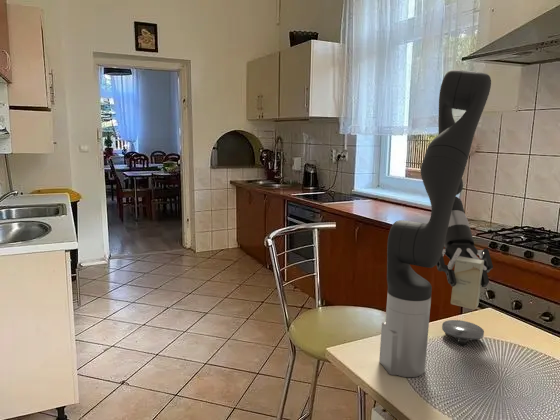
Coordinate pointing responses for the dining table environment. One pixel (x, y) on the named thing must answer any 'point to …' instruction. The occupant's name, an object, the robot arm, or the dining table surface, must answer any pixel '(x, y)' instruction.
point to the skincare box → (467, 282)
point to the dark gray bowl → (462, 331)
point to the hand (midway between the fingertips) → (469, 285)
